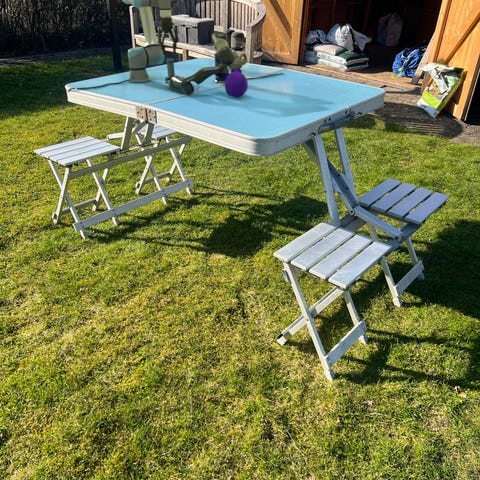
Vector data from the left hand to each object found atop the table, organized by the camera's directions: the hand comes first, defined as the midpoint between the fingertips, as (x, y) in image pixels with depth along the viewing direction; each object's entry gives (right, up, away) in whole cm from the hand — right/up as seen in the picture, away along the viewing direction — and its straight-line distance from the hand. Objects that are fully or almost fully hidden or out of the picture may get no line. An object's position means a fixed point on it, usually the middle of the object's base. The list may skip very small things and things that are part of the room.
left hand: (169, 54), depth 306 cm
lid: (0, -3, +2) cm, 4 cm away
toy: (+43, -33, -14) cm, 56 cm away
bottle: (0, -19, +11) cm, 22 cm away
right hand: (-1, -13, +10) cm, 16 cm away
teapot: (+45, +13, +64) cm, 79 cm away
